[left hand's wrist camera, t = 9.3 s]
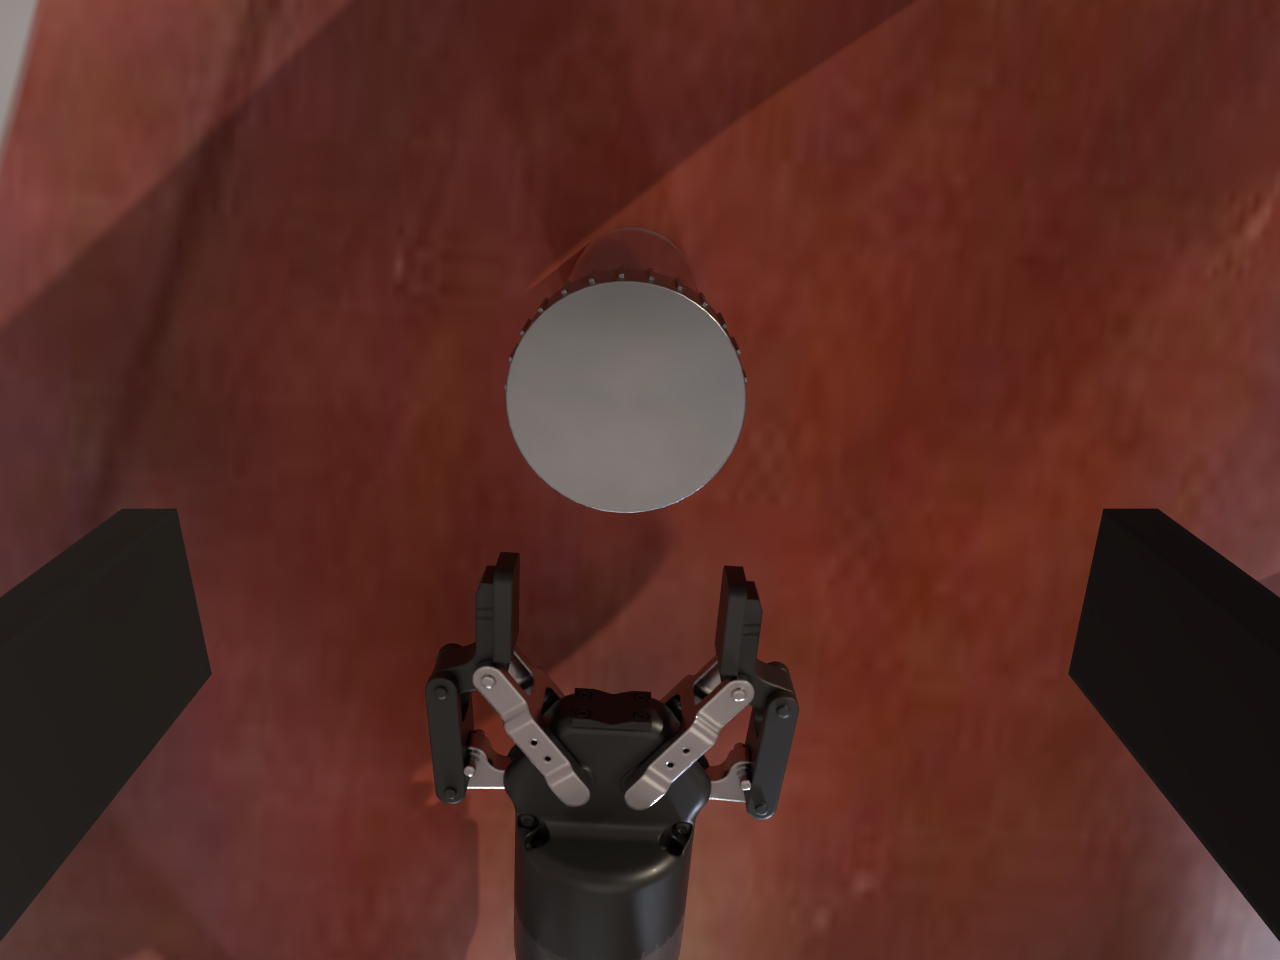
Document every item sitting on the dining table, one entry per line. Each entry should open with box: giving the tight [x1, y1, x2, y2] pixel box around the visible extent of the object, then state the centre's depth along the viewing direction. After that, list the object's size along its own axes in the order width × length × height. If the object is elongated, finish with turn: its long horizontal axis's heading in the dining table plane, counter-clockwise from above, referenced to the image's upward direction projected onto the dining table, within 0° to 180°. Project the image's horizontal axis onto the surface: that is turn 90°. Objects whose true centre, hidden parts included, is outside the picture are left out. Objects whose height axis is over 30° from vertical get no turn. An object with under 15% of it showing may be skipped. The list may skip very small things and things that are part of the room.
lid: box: [505, 265, 747, 513], centre depth 22 cm, size 6×6×2 cm
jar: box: [563, 227, 699, 294], centre depth 28 cm, size 5×5×15 cm
